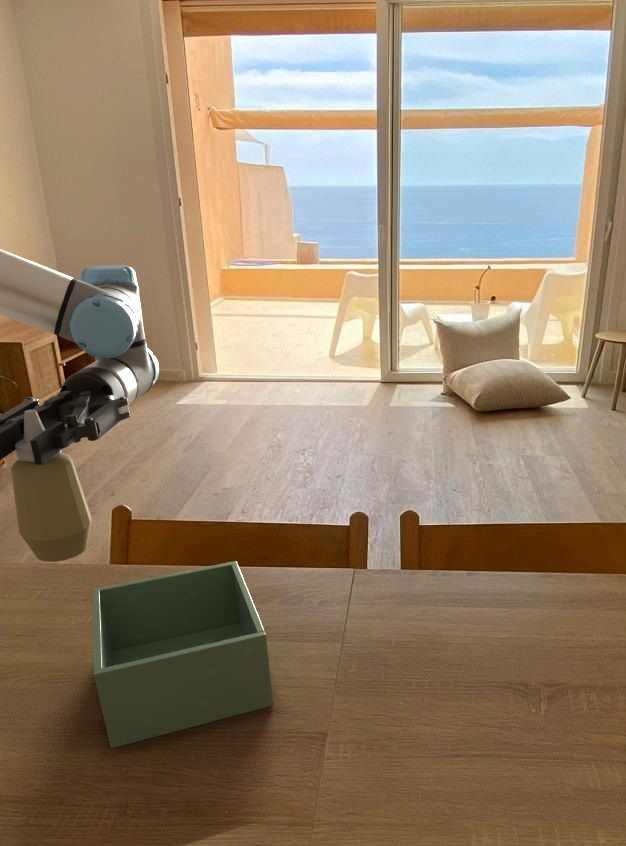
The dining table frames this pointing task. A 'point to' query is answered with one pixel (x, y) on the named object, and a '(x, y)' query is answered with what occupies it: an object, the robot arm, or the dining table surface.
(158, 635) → the storage bin
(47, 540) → the squeeze bottle
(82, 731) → the dining table surface
